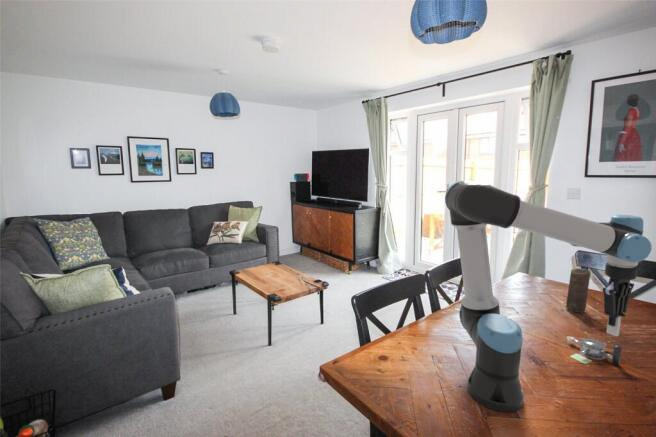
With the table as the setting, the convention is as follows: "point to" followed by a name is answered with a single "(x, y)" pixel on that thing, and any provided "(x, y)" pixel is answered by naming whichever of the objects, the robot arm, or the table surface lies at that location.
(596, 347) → the cam capstan
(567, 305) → the candle
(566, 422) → the table surface
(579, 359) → the stand plate
